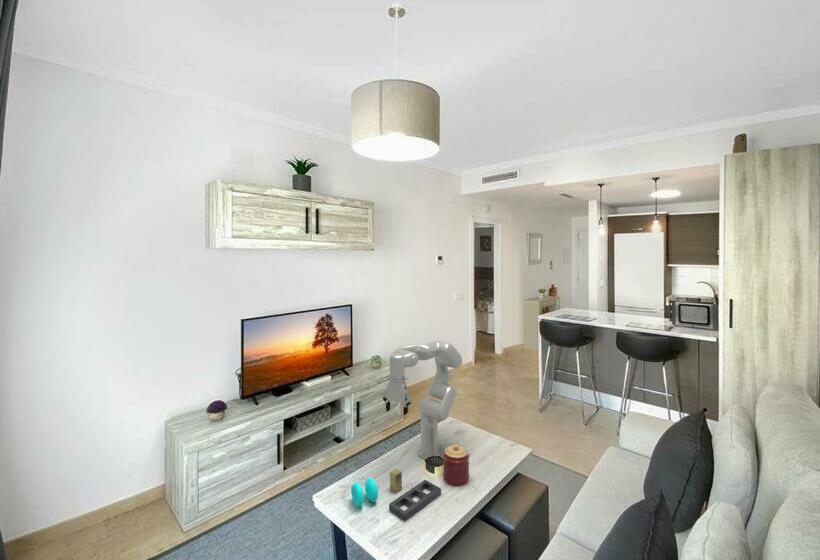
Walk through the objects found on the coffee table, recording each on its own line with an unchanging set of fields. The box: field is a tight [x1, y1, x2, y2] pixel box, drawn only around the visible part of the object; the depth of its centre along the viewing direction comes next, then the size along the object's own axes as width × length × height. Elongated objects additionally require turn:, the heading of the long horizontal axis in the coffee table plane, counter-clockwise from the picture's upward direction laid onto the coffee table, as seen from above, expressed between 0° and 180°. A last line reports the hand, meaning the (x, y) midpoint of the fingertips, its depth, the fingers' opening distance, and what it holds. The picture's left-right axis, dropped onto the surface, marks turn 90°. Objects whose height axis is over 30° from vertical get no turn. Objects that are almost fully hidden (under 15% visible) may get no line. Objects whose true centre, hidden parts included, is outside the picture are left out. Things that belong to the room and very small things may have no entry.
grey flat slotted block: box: [388, 479, 442, 522], centre depth 169 cm, size 24×10×3 cm, turn 136°
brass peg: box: [389, 468, 403, 494], centre depth 177 cm, size 4×4×9 cm
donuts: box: [350, 477, 379, 508], centre depth 169 cm, size 10×10×10 cm
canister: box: [442, 444, 470, 487], centre depth 185 cm, size 13×13×18 cm
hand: (396, 412), depth 186 cm, fingers open, 9 cm apart
